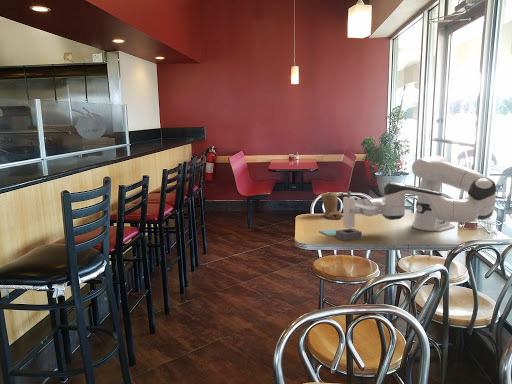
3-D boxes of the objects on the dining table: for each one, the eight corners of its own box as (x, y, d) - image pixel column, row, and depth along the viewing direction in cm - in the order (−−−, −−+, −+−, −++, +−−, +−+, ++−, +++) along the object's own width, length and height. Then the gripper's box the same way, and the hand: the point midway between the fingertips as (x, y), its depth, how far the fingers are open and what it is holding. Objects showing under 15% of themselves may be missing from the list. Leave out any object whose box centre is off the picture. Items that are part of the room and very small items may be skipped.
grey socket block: (352, 234, 210) (352, 228, 210) (361, 238, 203) (361, 231, 203) (335, 237, 206) (335, 230, 206) (344, 241, 199) (344, 234, 199)
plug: (349, 225, 206) (350, 190, 204) (354, 227, 203) (354, 191, 200) (343, 226, 205) (343, 191, 202) (347, 228, 201) (348, 192, 198)
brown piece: (319, 214, 257) (320, 190, 255) (338, 213, 257) (339, 190, 255) (323, 219, 242) (324, 195, 240) (343, 219, 242) (344, 194, 240)
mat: (335, 229, 220) (335, 228, 220) (346, 234, 211) (346, 233, 211) (319, 231, 217) (319, 230, 216) (329, 236, 208) (330, 235, 207)
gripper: (383, 217, 199) (360, 220, 193) (357, 209, 217) (335, 212, 212) (384, 204, 197) (360, 207, 192) (357, 197, 216) (335, 200, 210)
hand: (347, 209), depth 202 cm, fingers closed on plug, 4 cm apart
